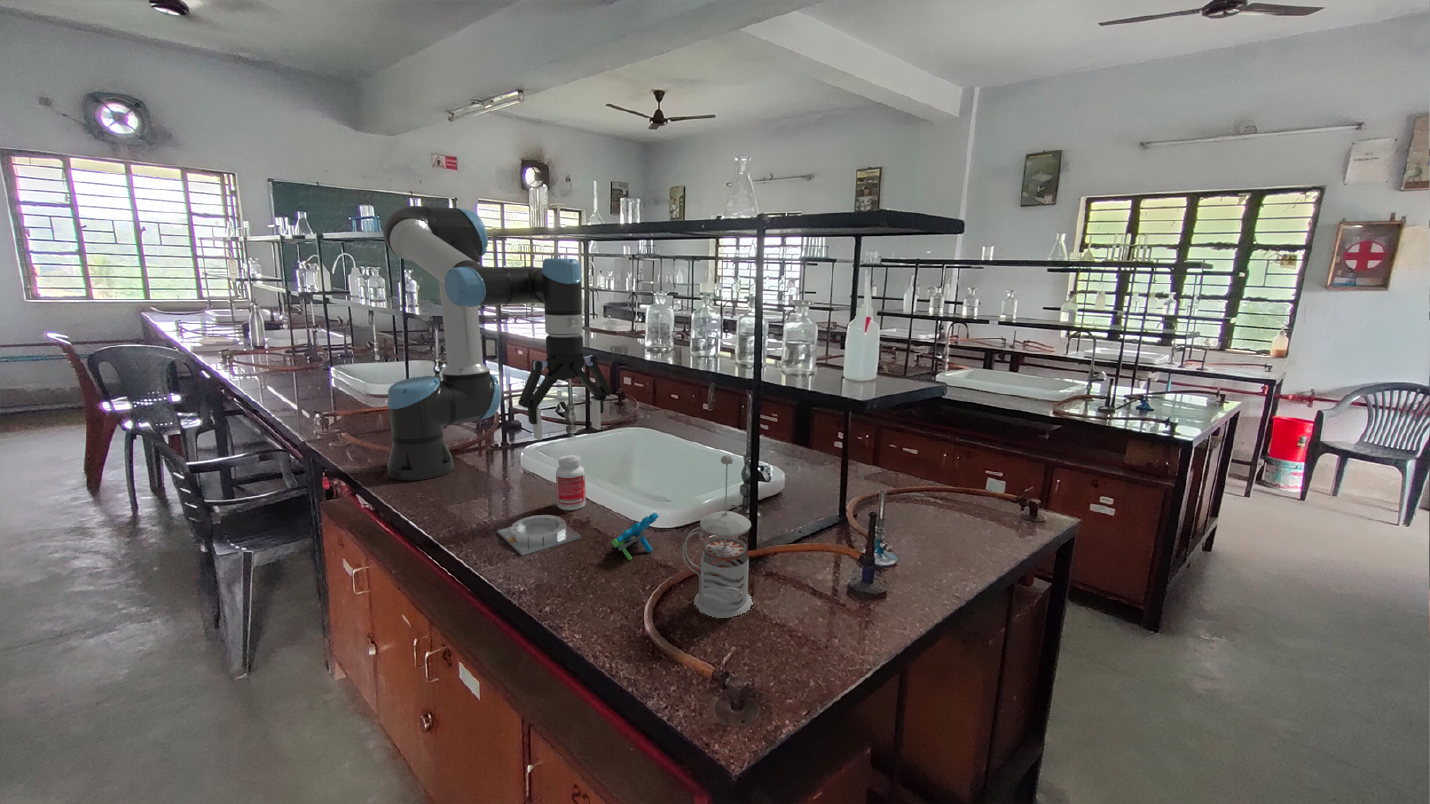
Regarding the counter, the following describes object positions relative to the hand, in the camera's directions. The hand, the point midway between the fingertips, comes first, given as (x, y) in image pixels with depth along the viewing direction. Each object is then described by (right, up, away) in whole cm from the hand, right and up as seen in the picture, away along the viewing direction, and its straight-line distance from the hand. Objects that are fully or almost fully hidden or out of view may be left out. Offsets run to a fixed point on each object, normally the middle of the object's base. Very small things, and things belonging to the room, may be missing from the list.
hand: (568, 433), depth 134 cm
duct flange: (-3, -20, -11) cm, 23 cm away
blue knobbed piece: (+16, -21, -15) cm, 31 cm away
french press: (+32, -26, -33) cm, 53 cm away
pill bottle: (0, -16, +4) cm, 17 cm away
